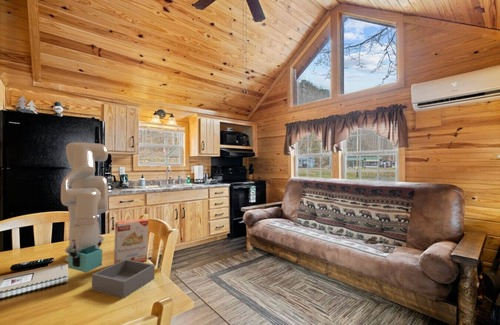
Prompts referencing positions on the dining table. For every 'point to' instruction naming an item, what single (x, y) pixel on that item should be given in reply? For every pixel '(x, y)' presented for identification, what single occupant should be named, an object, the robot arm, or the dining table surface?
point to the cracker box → (131, 240)
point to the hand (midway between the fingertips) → (85, 262)
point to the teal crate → (87, 259)
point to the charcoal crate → (123, 278)
